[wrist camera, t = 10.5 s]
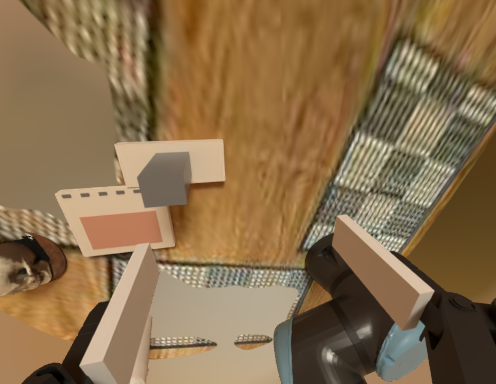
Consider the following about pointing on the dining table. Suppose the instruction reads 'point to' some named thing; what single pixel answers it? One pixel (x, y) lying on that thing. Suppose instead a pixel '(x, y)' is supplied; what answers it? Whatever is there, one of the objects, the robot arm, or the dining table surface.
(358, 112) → the dining table surface
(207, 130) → the dining table surface
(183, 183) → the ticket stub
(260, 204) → the dining table surface
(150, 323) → the foam cup
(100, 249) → the white flat piece
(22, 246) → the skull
